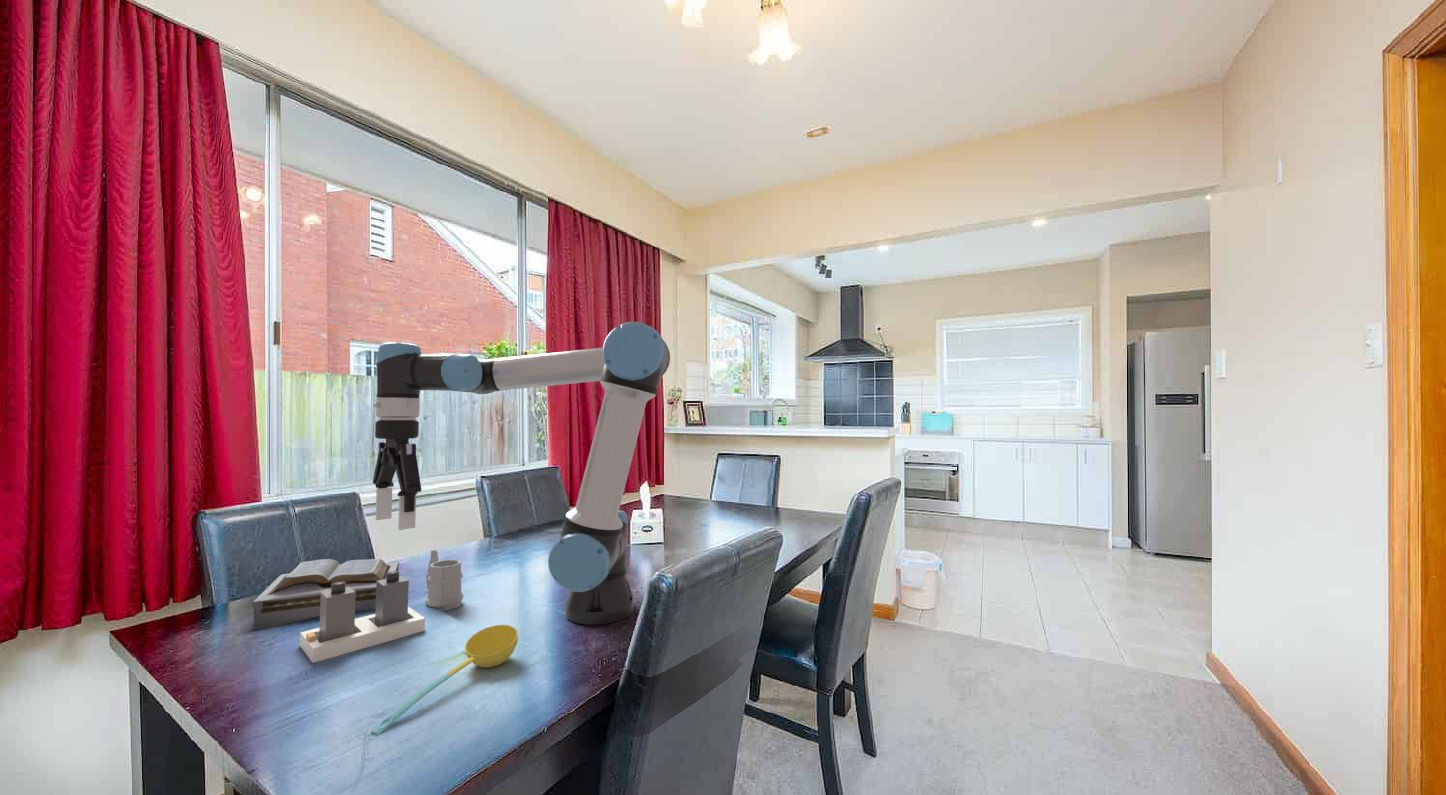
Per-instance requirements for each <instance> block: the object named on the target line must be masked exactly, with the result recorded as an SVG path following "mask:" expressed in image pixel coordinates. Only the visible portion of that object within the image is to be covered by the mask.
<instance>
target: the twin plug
mask: <svg viewBox="0 0 1446 795" xmlns="http://www.w3.org/2000/svg"><path fill="white" fill-rule="evenodd" d="M355 595H356V592H355V591H354V590H353V589H351V588H350V587H346V582H336V583H333V584H331V590H330V591H325V592H321V601H320V616H319V627H318V628H319V643H322V642H326V641H330V640H333V639H337V638H341V637H344V636H348V635H352V634H354V624H355V619H356V611H355Z"/></svg>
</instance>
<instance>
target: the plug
mask: <svg viewBox="0 0 1446 795" xmlns="http://www.w3.org/2000/svg"><path fill="white" fill-rule="evenodd" d="M409 581H410V580H409V579H407V578H406V577H404V576H402V575H400V571H399V570H398V571H391V572H388V573H386V579H383V580H378V581H376V608H375V612H374V614H375V625H376V626H377V627H382V626H386V625H389V624H393V623H397V622H400V621H404V620H407V619H408V607H409V583H410V582H409Z"/></svg>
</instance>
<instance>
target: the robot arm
mask: <svg viewBox="0 0 1446 795" xmlns="http://www.w3.org/2000/svg"><path fill="white" fill-rule="evenodd" d="M602 346H603V347H597V348H595V347H594V348H586V349H576V350H575V349H574V350H568V351H557V352H548V353H536V354H528V355H518V356H508V357H498V358H489V359H488V358H486V359H478V357H477V356H475V355H473V354H465V353H459V352H457V353H456V352H455V353H422V350H421V349H422V348H421V347H420V346H419V345H417V344H414V343H407V342H384V343H381V344H380V345H379V347H378V350H377V351H378V352H377V353H378V354H377V360H376V361H377V362H376V364H375V366H376V402H375V401H374V402H373V403H372V406H373V407H374V408H376V409H375V417H376V418H379V420H378V419H377V420H376V421H375V424H374V425H375V426H374V428H375V429H374V430H375V431H374V437H375V438H376V439H379V440H385V441H379V443H378V453H377V458H376V464H375V469H374V473H373V478H372V484H374V485H375V488H376V490H375V491H376V493H375V494H376V495H375V499H376V500H375V520H376V521H382V520H389V519H392V516H393V515H392V514H393V512H392V510H393V509H392V507H393V487H394V486H395V483H394V481H393V479H394V476H395V473H396V476H397V477H396V478H397V481H398V485H399V488H400V489H399V491H398V493H397V497H398V524H397V525H398V527H397V528H398V529H397V530H398V531H403V530H408V529H409V530H410V529H416V518H417V517H416V516H417V515H416V511H417V509H416V508H417V494H418V493H421V492H422V485H421V478H420V472H419V466H418V458H417V444H416V443H410V442H409V440H411V439H416V438H419V432H420V428H419V427H420V426H419V425H420V422H419V421H418V420H417V418H419V417H420V412H421V410H420V407H421V406H420V404H421V403H420V402H421V398H420V393H421V391H448V392H457V393H458V392H461V393H471V394H472V393H474V394H476V395H487V394H492V393H494V392H501V391H510V390H520V389H522V390H523V389H531V388H541V387H549V386H550V387H551V386H560V385H561V386H562V385H563V386H564V385H570V384H579V383H580V384H582V383H591V382H599V383H600V385H601V387H602V388H603V390H604V395H603V398H602V403H601V406H600V411H599V414H598V419H597V423H596V425H595V426H596V427H595V431H594V434H593V438H592V443H591V446H590V450H589V453H588V457H587V461H586V465H585V470H584V473H583V478H582V481H581V484H580V488H579V492H578V496H577V500H576V504H575V506H574V507H572V508H571V509H570V510H568V511H567V512H566V513H565V515H564V520H563V523H562V527H561V530H560V533H559V534H560V535H559V538H558V539H557V540H556V541H555V542H554V544H553V545H552V548H551V549H550V551H549V554H548V560H547V561H548V562H547V564H548V570H549V573H550V575H551V576H552V578H553V579H554V582H556V583H557V584H558V585H559V586H560V587H562V588H563V589H565V590H567V591H569V594H568V597H567V600H566V602H565V609H564V610H565V613H564V615H565V617H566V619H567V620H569V621H571V622H573V623H576V624H579V625H581V624H582V625H591V626H592V625H593V626H594V625H605V624H611V623H616V622H618V621H621V620H624V619H626V618H628V617H630V615H632V613H634V607H635V606H634V604H635V603H634V602H635V601H634V597H633V594H632V589H631V587H630V583H629V580H628V577H627V567H628V566H627V562H628V555H627V554H628V526H629V523H628V516H627V513H626V512H625V511H624V510H620V507H621V504H622V499H623V496H624V492H625V488H626V485H627V481H628V475H629V472H630V467H631V464H632V461H633V456H634V452H635V448H636V445H637V440H638V437H639V432H640V430H641V425H642V421H643V417H644V414H645V409H646V405H647V403H648V401H650V400H651V399H654V398H655V397H656V396H657V391H658V388H659V385H660V381H661V378H662V377H663V376H664V375H665V373H666V372H667V371H668V368H669V366H670V362H671V353H670V349H669V347H668V345H667V343H666V341H665V340H664V339H663V337H662V335H661V333H660V332H658V330H656V329H655V328H654V327H653V326H650V325H648V324H646V323H643V322H638V321H628V322H624V323H623V322H622V323H621V324H619V325H617V326H615V327H614V328H613V329H611V331H610V332H609V333H608V335H607V336H606V337H605V339H604V342H603V345H602Z"/></svg>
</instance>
